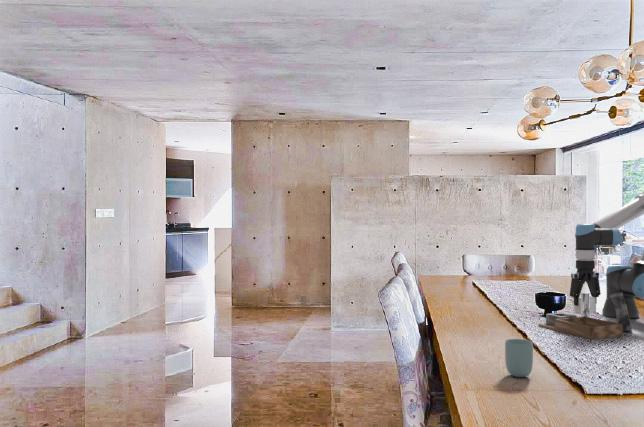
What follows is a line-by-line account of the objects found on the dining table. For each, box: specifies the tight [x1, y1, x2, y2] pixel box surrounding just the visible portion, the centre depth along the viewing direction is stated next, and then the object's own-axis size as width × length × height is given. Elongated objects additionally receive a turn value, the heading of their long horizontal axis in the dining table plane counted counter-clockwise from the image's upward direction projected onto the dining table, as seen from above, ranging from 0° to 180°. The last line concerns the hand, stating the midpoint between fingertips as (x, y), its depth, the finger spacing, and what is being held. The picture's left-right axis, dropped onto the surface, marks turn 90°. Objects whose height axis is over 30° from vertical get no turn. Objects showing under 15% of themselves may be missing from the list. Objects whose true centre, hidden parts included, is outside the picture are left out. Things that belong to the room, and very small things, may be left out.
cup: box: [504, 338, 534, 378], centre depth 176 cm, size 8×8×10 cm
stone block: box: [609, 293, 633, 332], centre depth 241 cm, size 9×14×5 cm
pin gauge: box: [580, 292, 590, 318], centre depth 256 cm, size 3×3×13 cm
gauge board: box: [537, 312, 624, 340], centre depth 240 cm, size 16×28×5 cm, turn 23°
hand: (585, 312), depth 256 cm, fingers open, 8 cm apart
